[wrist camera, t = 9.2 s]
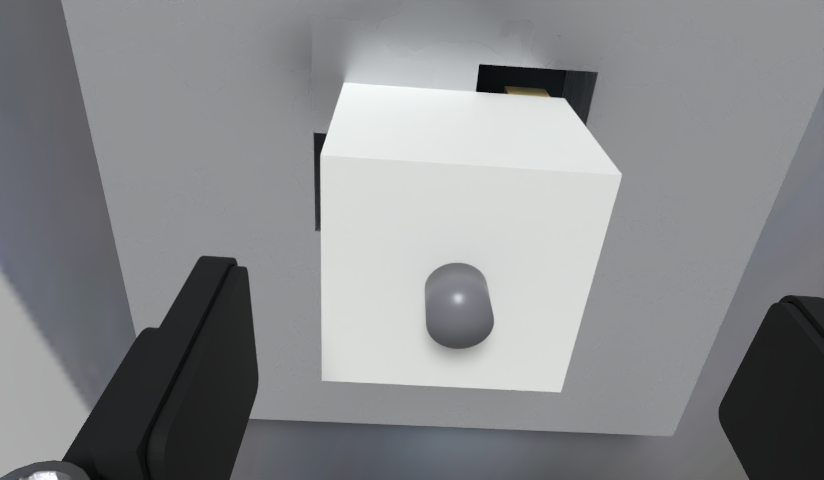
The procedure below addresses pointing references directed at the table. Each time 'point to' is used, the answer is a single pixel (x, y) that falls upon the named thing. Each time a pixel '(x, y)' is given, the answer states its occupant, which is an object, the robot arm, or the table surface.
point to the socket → (455, 70)
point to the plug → (458, 236)
